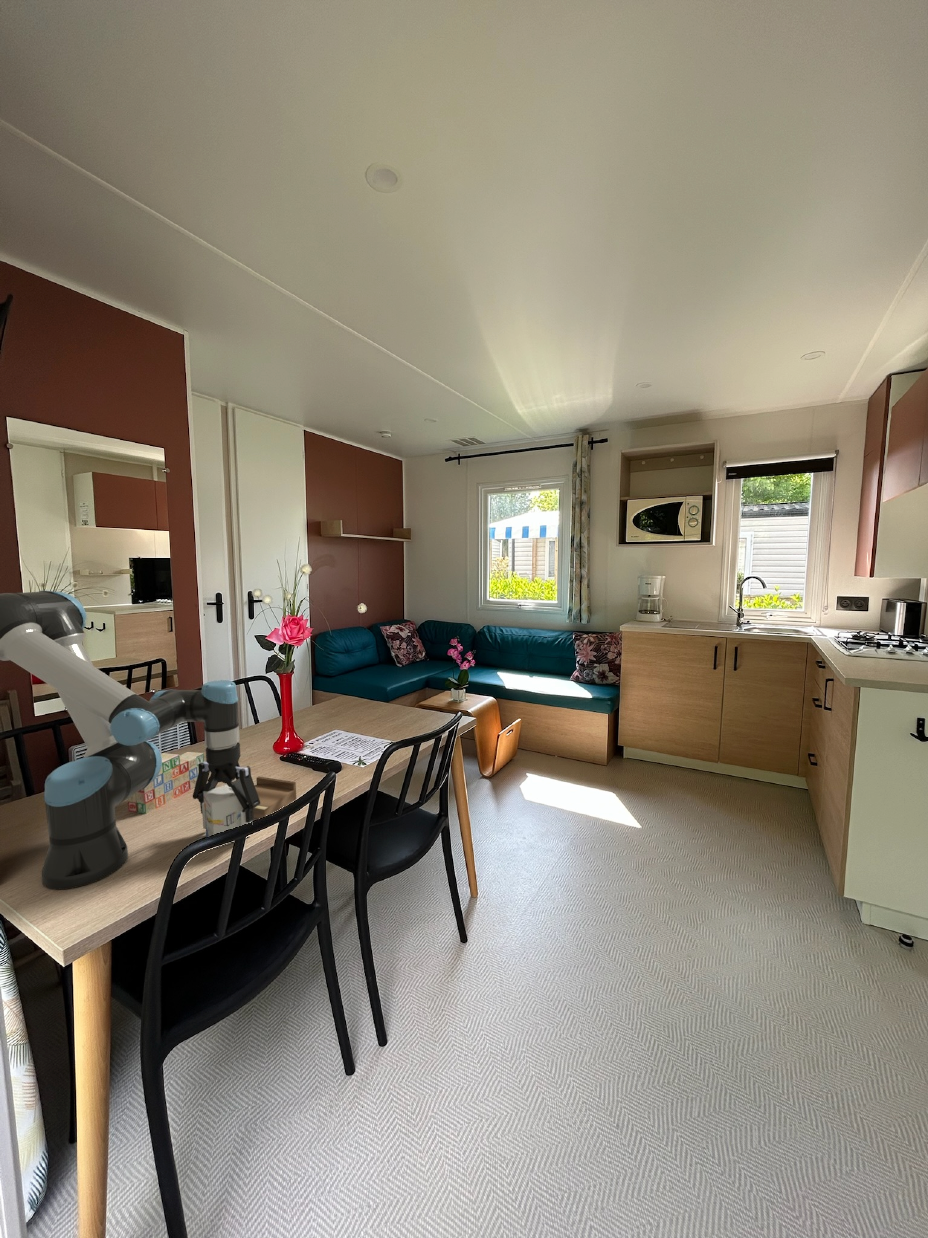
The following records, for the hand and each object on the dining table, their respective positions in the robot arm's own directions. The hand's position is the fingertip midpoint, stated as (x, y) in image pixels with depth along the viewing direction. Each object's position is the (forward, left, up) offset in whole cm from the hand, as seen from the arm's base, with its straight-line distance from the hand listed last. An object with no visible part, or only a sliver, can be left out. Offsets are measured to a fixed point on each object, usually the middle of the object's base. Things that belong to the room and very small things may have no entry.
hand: (227, 830), depth 121 cm
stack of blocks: (+13, +34, -2) cm, 36 cm away
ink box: (0, 0, -2) cm, 2 cm away
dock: (+15, +3, -2) cm, 16 cm away
